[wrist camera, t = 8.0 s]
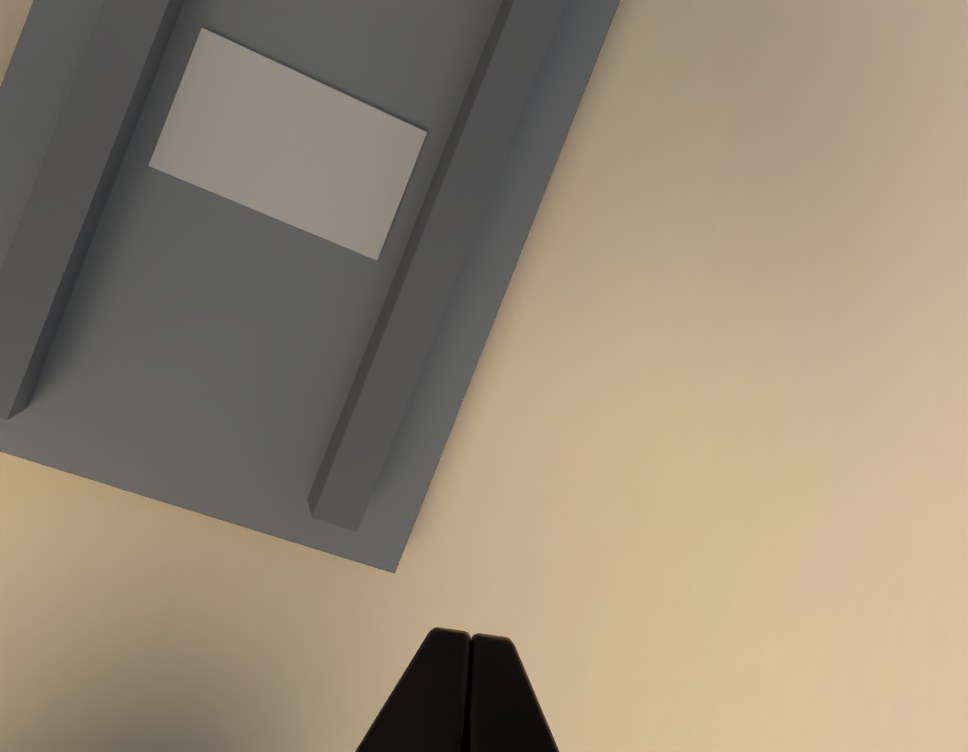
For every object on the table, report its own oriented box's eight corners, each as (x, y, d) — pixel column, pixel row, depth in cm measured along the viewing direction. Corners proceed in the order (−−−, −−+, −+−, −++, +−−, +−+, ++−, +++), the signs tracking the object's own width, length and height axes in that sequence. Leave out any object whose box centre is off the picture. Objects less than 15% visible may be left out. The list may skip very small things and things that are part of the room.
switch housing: (388, 559, 21) (405, 596, 19) (-105, 405, 18) (-160, 425, 16) (724, -298, 21) (786, -371, 18) (281, -601, 18) (286, -737, 15)
